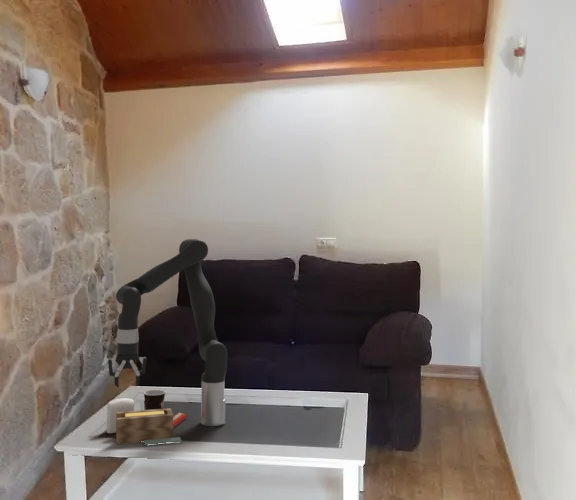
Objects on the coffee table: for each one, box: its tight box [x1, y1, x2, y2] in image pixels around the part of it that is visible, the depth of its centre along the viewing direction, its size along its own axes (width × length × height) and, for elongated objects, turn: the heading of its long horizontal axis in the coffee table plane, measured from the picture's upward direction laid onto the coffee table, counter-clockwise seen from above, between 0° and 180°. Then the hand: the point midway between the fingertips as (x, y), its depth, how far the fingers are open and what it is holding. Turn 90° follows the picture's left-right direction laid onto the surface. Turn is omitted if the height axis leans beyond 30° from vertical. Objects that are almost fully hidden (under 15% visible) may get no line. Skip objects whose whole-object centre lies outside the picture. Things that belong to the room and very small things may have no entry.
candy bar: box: [173, 412, 187, 429], centre depth 229 cm, size 16×4×3 cm, turn 167°
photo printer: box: [106, 397, 135, 434], centre depth 219 cm, size 10×4×12 cm, turn 123°
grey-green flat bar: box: [143, 436, 183, 446], centre depth 208 cm, size 13×4×1 cm, turn 108°
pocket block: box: [115, 407, 175, 445], centre depth 212 cm, size 20×9×9 cm, turn 108°
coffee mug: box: [143, 389, 166, 410], centre depth 237 cm, size 12×9×10 cm
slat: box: [125, 411, 164, 417], centre depth 212 cm, size 14×4×3 cm, turn 108°
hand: (127, 386), depth 210 cm, fingers open, 6 cm apart
